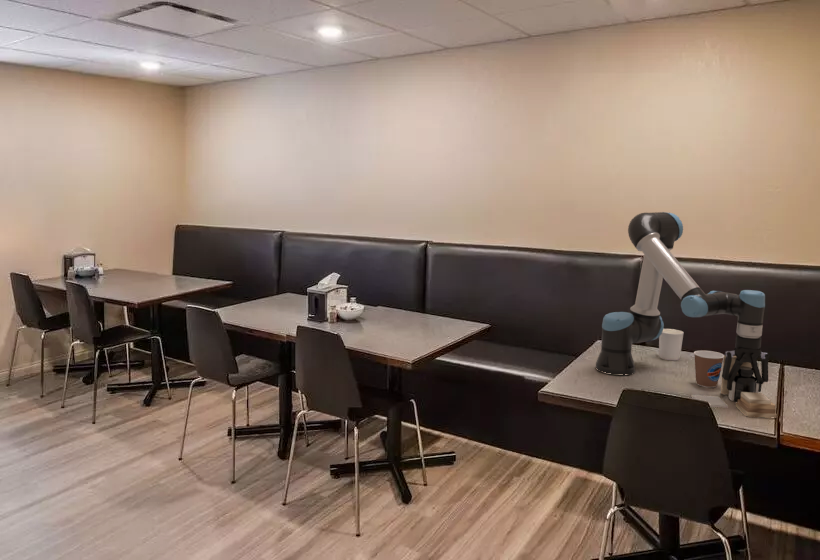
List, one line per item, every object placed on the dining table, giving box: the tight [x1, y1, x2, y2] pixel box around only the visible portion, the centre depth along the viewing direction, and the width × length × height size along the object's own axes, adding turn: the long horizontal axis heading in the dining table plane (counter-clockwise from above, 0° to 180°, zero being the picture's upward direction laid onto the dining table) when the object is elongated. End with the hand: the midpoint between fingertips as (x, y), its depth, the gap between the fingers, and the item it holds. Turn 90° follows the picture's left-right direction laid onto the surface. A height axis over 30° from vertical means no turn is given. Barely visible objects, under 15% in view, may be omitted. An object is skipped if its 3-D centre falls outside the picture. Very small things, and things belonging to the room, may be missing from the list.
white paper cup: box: [658, 328, 684, 361], centre depth 254 cm, size 10×10×12 cm
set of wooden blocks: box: [720, 355, 778, 419], centre depth 197 cm, size 9×23×14 cm, turn 171°
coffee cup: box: [693, 350, 725, 389], centre depth 218 cm, size 10×10×12 cm
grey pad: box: [690, 394, 729, 409], centre depth 201 cm, size 9×9×1 cm
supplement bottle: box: [733, 366, 756, 403], centre depth 201 cm, size 7×7×12 cm
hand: (742, 399), depth 202 cm, fingers closed on supplement bottle, 7 cm apart
